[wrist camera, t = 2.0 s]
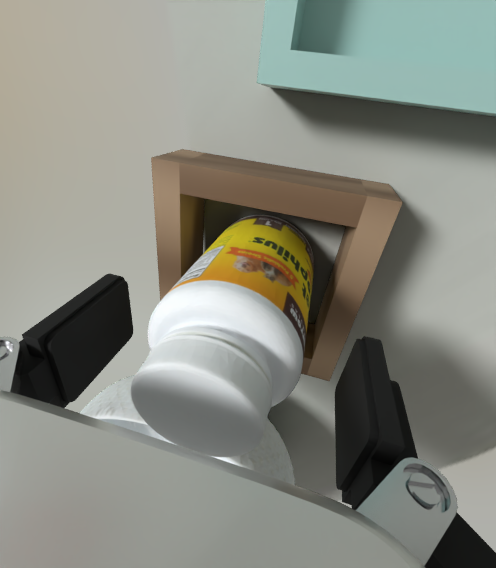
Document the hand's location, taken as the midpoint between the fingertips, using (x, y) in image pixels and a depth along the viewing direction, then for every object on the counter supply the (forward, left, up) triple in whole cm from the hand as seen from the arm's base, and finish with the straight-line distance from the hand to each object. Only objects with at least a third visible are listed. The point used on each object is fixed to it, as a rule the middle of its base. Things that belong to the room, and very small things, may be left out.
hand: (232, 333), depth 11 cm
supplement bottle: (0, 0, -6) cm, 6 cm away
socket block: (0, 0, -6) cm, 6 cm away
